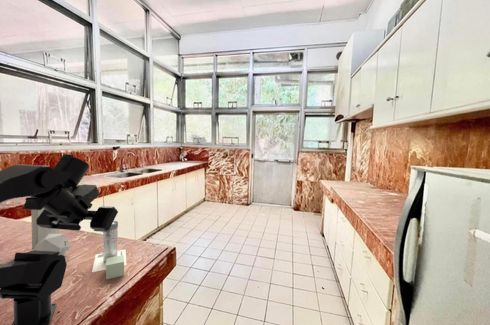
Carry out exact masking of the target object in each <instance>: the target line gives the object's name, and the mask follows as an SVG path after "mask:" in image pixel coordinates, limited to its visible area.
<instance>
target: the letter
mask: <svg viewBox="0 0 490 325" xmlns="http://www.w3.org/2000/svg"><path fill="white" fill-rule="evenodd" d="M126 252H127V251H126V249H120V250H119V249H118V250H117V256H121V255H124V267H125V266H127V255H126ZM101 271H106V263H105V262H103V252H101V253H99V254H95V256H94V260H93V266H92V271H91V274H92V273H97V272H101Z"/></svg>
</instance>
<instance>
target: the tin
mask: <svg viewBox="0 0 490 325" xmlns="http://www.w3.org/2000/svg"><path fill="white" fill-rule="evenodd" d="M118 229H119V222H118V220H114V221H113V223H112V225H111V230H110V232H103V235H102V236H103V238H102V240H103V242H102V243H103V244H102V245H103V246H102V247H103V248H102V253H103V262H105V263H106V260H107V258H110V257H115V256H117V251H118V242H119V241H118V236H119V234H118V232H119V231H118Z"/></svg>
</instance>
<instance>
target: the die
mask: <svg viewBox="0 0 490 325" xmlns="http://www.w3.org/2000/svg"><path fill="white" fill-rule="evenodd" d="M67 238H68V237H67V236H66V234H64V233H61V234H48V235H47V236H46V237H45V238H44V239H42V240H41V241H40V242H39V243H38V244H37V245H35V246H34V248H35V249H34V251H53V252H60V253H59V254H58V255H65V253H67V251H69V250H70V248H72V245H71V244H70V241H69V240H68V239H67Z"/></svg>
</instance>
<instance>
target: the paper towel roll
mask: <svg viewBox="0 0 490 325" xmlns="http://www.w3.org/2000/svg"><path fill="white" fill-rule="evenodd" d="M43 210H44V208H42V210H30V212H31V213H30V215H31V251H35V248H34V246H35V245H37V244H38V243H39V242H40V241H41V240H42V239H44V238H45V237H46V236H47V235H48V234H62V229H51V228H43V227H40V226H38V225H37V221H36V219H37V218H38V217H39V216H40V214H41V213H42V212H43Z"/></svg>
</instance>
